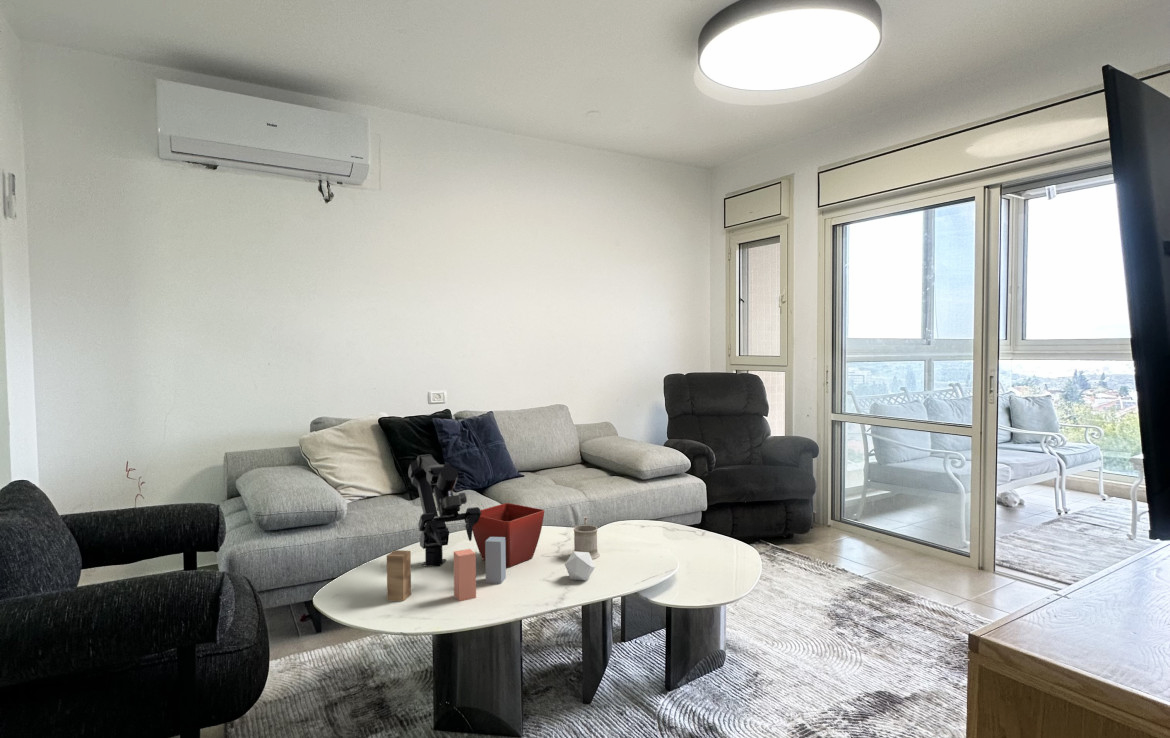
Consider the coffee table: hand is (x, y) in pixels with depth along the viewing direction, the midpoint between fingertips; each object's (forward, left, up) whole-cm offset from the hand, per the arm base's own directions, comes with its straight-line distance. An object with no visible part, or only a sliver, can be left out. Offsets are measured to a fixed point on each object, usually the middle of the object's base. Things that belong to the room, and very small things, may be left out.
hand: (456, 542), depth 184 cm
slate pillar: (-8, +10, -14) cm, 19 cm away
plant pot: (-28, +8, -14) cm, 32 cm away
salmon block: (+6, +5, -14) cm, 16 cm away
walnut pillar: (+9, -14, -14) cm, 22 cm away
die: (-13, +36, -14) cm, 41 cm away
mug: (-38, +34, -14) cm, 53 cm away
